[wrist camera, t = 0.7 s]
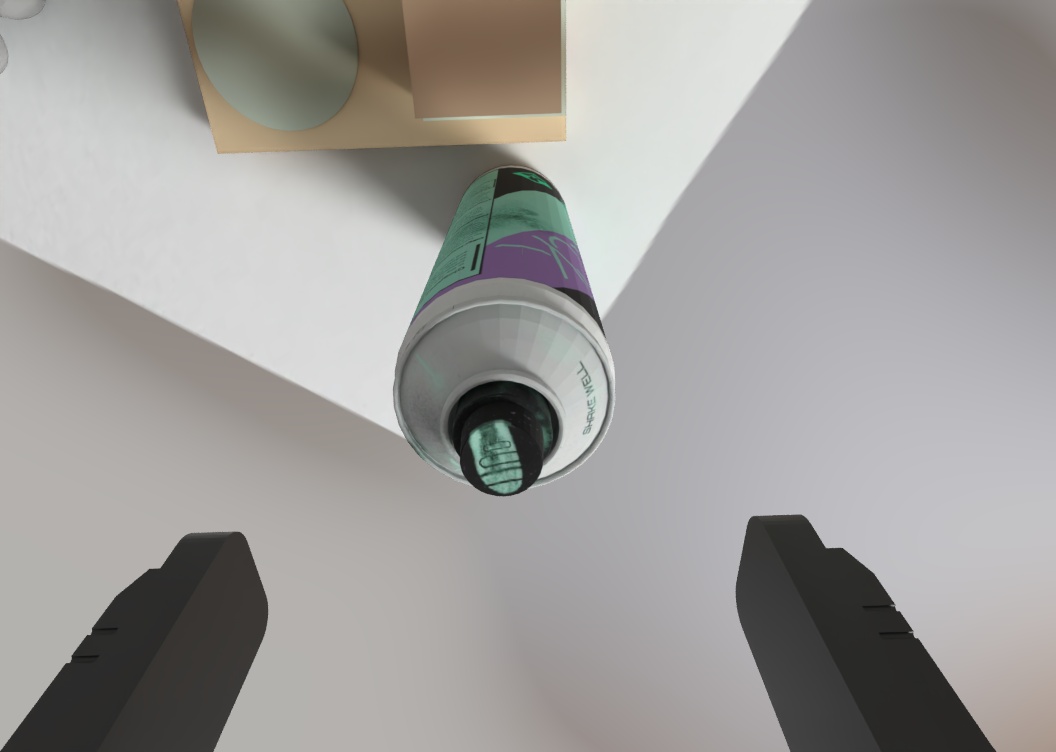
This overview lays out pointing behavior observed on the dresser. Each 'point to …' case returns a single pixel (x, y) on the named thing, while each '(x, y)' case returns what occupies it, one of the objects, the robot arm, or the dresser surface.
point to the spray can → (506, 344)
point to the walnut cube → (484, 57)
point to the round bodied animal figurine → (16, 4)
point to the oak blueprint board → (327, 79)
